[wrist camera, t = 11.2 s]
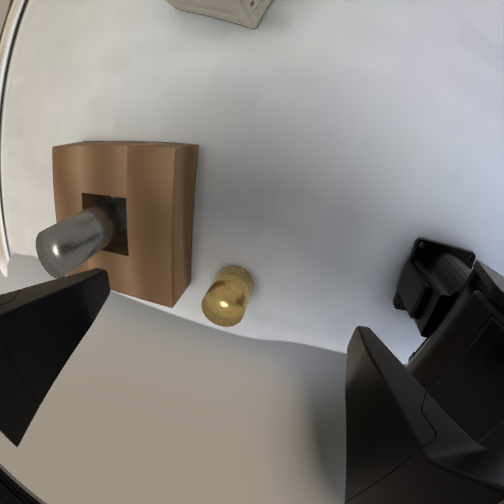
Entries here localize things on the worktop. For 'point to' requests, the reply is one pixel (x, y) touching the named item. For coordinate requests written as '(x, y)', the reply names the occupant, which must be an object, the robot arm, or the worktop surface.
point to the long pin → (81, 236)
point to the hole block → (134, 210)
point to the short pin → (228, 296)
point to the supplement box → (226, 9)
